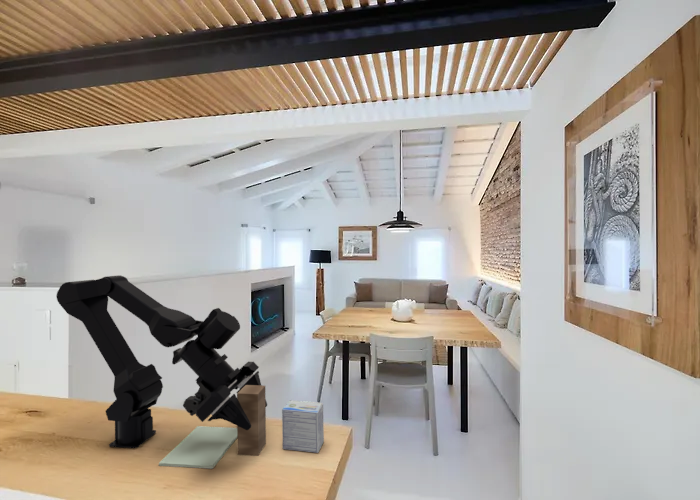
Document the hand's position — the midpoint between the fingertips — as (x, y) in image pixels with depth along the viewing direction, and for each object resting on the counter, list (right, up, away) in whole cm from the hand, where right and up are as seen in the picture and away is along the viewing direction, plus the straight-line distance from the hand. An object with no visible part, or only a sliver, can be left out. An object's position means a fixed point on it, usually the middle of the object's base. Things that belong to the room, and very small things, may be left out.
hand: (258, 417), depth 72 cm
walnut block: (-1, -7, 0) cm, 7 cm away
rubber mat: (-12, -7, +1) cm, 14 cm away
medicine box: (+9, -7, +1) cm, 12 cm away
